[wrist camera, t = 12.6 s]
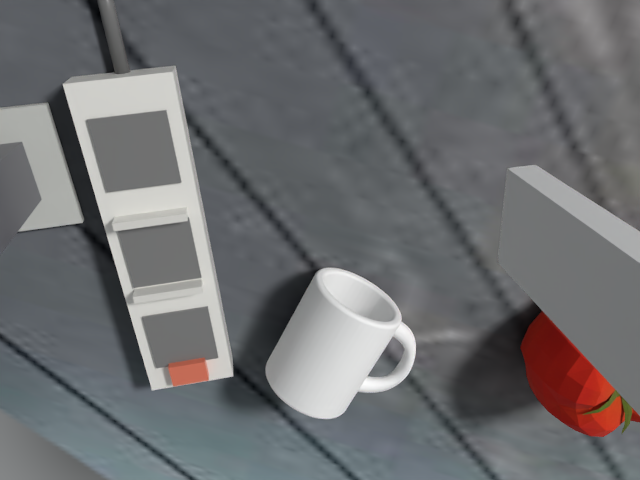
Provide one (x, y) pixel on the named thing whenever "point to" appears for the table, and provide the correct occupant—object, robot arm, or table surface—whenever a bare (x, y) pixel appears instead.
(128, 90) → the power strip
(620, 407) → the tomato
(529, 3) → the table surface
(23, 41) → the table surface
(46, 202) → the felt pad
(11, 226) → the block
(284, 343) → the mug
